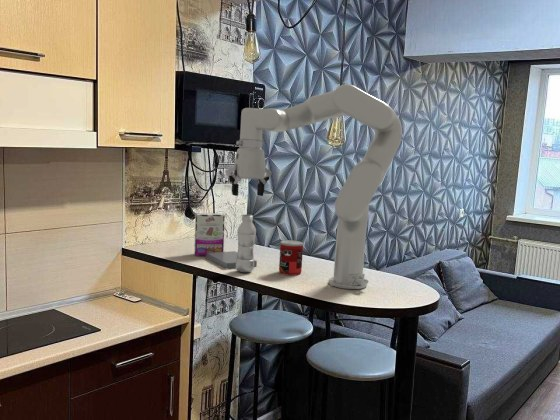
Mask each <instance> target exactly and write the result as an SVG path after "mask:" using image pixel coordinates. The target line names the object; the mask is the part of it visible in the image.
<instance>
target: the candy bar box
mask: <svg viewBox="0 0 560 420" xmlns="http://www.w3.org/2000/svg"><path fill="white" fill-rule="evenodd" d="M194 215H195V217H194V219H195V220H194V223H195V224H194V256H195V257H207V253H214V252H224V247H225V246H224V245H225V243H224V242H225V214H224V213H219V212H218V213H213V212H210V213H208V212H207V213H205V212H200V213H199V212H195V214H194Z"/></svg>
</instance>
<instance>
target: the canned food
mask: <svg viewBox="0 0 560 420" xmlns="http://www.w3.org/2000/svg"><path fill="white" fill-rule="evenodd" d="M279 244H280V245H279V247H280V248H279V260H278V261H279V265H278V266H279V267H278V272H279V274H281V275H286V276H299V275H301V274H302V270H303V269H302V268H303V255H304V253H303V252H304V243H303V242H302V241H300V240H299V241H298V240H291V239H290V240H288V239H286V240H281V241H280V243H279Z"/></svg>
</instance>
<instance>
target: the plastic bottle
mask: <svg viewBox="0 0 560 420" xmlns="http://www.w3.org/2000/svg"><path fill="white" fill-rule="evenodd" d="M253 217H254V216H253V214H246V213H245V214H241V221H242V222H240V224H239V226H238V227H237V252H238V254H237V259H236V264H235V266H236V268H235V269H236V271H237V272H241V273H250V272H252V271H254V268H255V267H254V260H255V259H254V247H255V239H256V234H257V228H256V226H255V224H254V223H253V220H254V218H253Z"/></svg>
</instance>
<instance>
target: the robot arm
mask: <svg viewBox="0 0 560 420" xmlns="http://www.w3.org/2000/svg"><path fill="white" fill-rule="evenodd" d="M346 115H347V116H348V117H350V118H352V119H354V120H356V121H358V122H359V123H361V124H362V125H365V126H367V127H369V128H370V129H372V130H374V136H373V138H372V141H371V142H370V144H369V146H368V148H367V151H366V152H365V154H364V156H363V158H362V159H361V161H359V162H357V163H356V164H355V165H354V166H353V167H352V169H351V171H349V172H350V173H349V175H348V176H347V178H346V181H344V184H343V186H342V188H341V189H340V191H339V193H338V194H337V195H338V196H337V198H335V199H336V200H335V202H334V211H335V214H336V216H337V217H338V219H337V227H336V228H337V229H336V238H335V239H336V241H335V252H334V253H335V255H334V264H333V265H334V267H333V276H332V277H330V278H328V284H329V285H330V286H332V287H336V288H339V289H345V290H346V289H347V290H361V289H365V288H366V287H367V286H368V284H369V279H366V278H365V276H366V274H365V273H364V264H365V252H366V239H367V238H366V237H367V229H368V227H367V226H368V219H369V212H370V211H369V210H370V203H371V201H372V199H373V198H374V195H375V193H376V192H377V191H378V188H379V186H381V184H382V183H383V181H384V177H385V175H386V173H387V171H388V169H389V167H390V165H391V164H392V162H393V160H394V158H395V156H396V153H397V152H398V150H399V147H400V144H401V142H402V135H403V128H402V124H401V120H400V119H399V117H398V115H397V113H396V112H395V111H394V109H393V108H392V107H391V106H390V105H389V104H387V103H386V102H384V101H382V100H380V99H378V98H376V97H375V96H373V95H370V94H369V93H367V92H365V91H363V90H362V89H360V88H359V87H356V86H355V85H353V84H351V83H350V84H349V83H345V84H342V85H339V86H338V87H337V88H336V89H334V90H331V91H328V92H324V93H321V94H320V93H319V94H316V95H312V96H309V97H308V98H307V99H306V100H305V101H304V102H302V103H299V104H296V105H295V106H290V107H287V108H282V109H278V108H273V107H272V108H271V107H270V108H255V107H245V108H243V109H241V115H240V132H239V133H240V134H239V140H236V143H235V144H236V146H238V147H239V148H237V150H236V153H235V158H234V159H235V160H234V165H233V166H231V167H230V168H227V169H226V170H225V174H226V176H227V179H228V180H229V182H230V183H231V195H232V196H235V197H237V196H239V186H240V185H239V182H240V180H242V179H243V180H257V181H258V183H257V193H256V195H258V196H259V197H264V193H265V185H266V184H267V182H268V181H269V180H270V178H271V177H272V174H273V171H272V170H269V169H268V168H267V167H266V158H265V157H266V155H265V150H264V149H262V147H263V136H264V135H263V133H264V132H263V131H268V132H275V133H282V132H285V131H291V130H294V129H299V128H301V127H305V126H309V125H314V124H316V123H320V122H323V121H328V120H331V119H335V118H339V117H343V116H346ZM232 172H233V175H232Z"/></svg>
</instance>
